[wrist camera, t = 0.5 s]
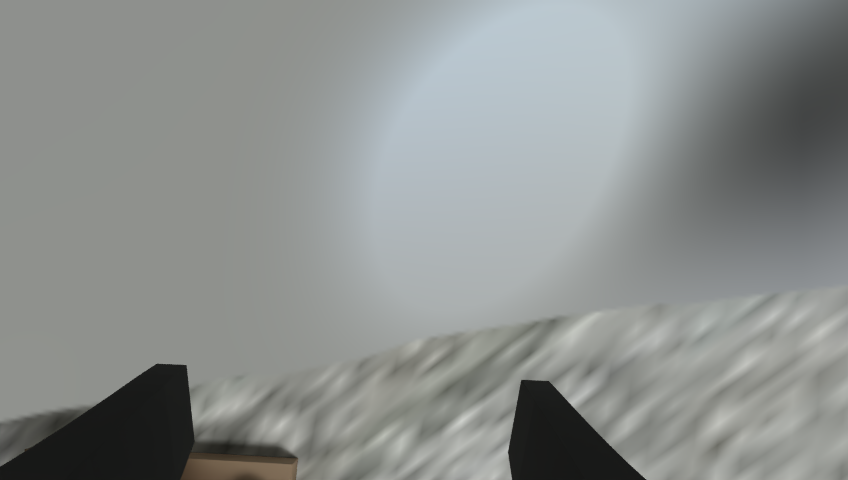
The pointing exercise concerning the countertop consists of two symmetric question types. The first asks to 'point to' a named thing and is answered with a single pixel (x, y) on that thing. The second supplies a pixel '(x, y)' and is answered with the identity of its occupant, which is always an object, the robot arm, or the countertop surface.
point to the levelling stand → (238, 467)
